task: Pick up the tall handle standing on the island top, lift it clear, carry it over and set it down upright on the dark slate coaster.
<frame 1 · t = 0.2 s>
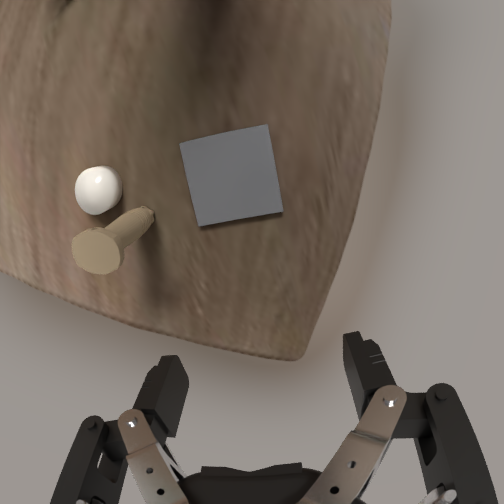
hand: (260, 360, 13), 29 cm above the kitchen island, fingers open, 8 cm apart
white dome knob: (104, 187, 39), on the kitchen island
handle: (146, 215, 41), on the kitchen island
coaster: (231, 175, 38), on the kitchen island
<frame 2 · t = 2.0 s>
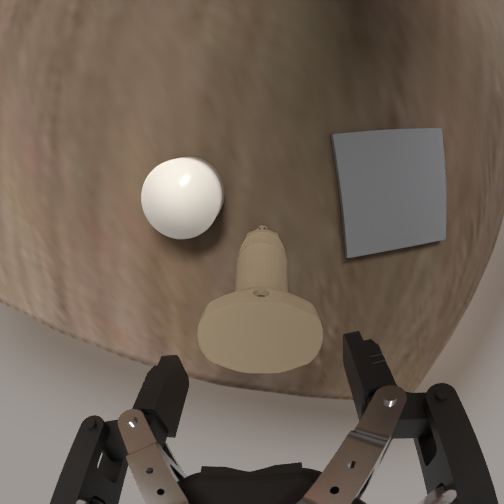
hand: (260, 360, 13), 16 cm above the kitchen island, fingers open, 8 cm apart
white dome knob: (188, 192, 27), on the kitchen island
handle: (262, 239, 28), on the kitchen island
coaster: (394, 189, 25), on the kitchen island
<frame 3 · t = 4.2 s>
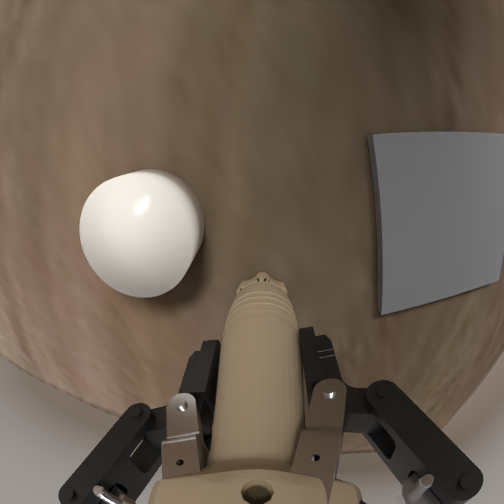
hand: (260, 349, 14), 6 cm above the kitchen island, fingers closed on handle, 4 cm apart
white dome knob: (152, 222, 18), on the kitchen island
handle: (262, 290, 19), on the kitchen island, touching gripper
coaster: (448, 217, 16), on the kitchen island
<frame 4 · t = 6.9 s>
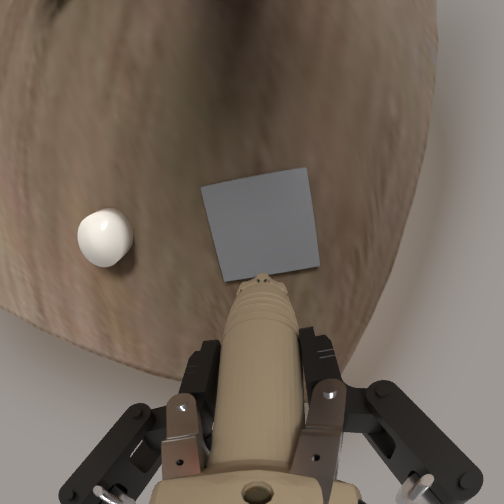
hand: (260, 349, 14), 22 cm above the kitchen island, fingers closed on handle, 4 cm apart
white dome knob: (111, 232, 35), on the kitchen island
handle: (262, 291, 19), point 16 cm above the kitchen island, touching gripper
coaster: (262, 225, 34), on the kitchen island
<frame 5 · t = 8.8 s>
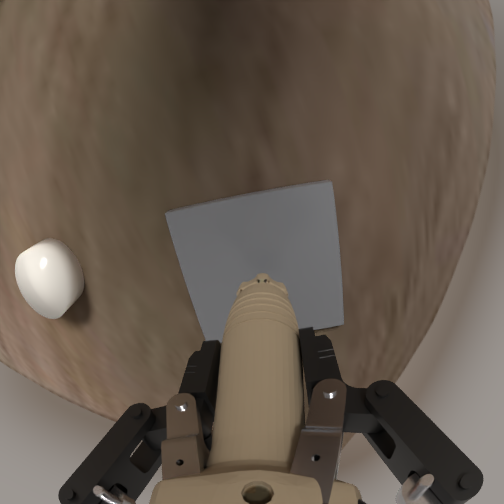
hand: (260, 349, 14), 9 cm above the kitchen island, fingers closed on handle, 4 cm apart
white dome knob: (58, 270, 24), on the kitchen island
handle: (262, 291, 19), point 3 cm above the kitchen island, touching gripper
coaster: (262, 268, 22), on the kitchen island
when the fingers open (8 cm above the kitchen island, at t = 10.1 s): handle stays where it is, resting on coaster.
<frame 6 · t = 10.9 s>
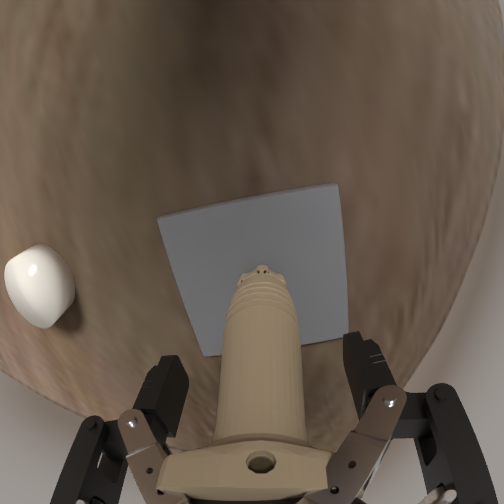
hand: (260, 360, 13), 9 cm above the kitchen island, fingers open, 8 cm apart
white dome knob: (49, 277, 22), on the kitchen island
handle: (262, 282, 20), point 1 cm above the kitchen island, touching coaster
coaster: (261, 278, 21), on the kitchen island
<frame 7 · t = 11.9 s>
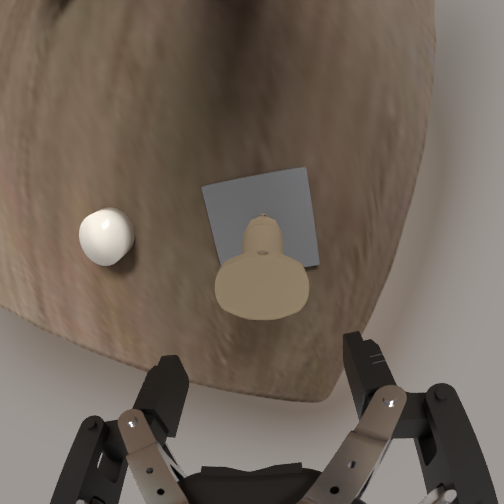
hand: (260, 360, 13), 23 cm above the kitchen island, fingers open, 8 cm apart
white dome knob: (112, 231, 35), on the kitchen island
handle: (263, 225, 33), point 1 cm above the kitchen island, touching coaster
coaster: (263, 224, 34), on the kitchen island
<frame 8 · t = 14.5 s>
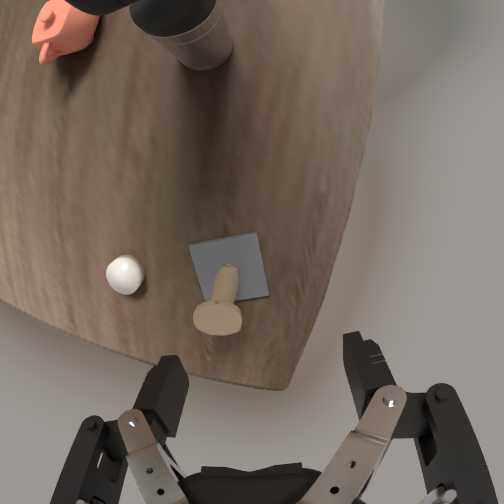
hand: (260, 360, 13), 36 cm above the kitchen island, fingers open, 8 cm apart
white dome knob: (129, 270, 52), on the kitchen island
handle: (229, 270, 50), point 1 cm above the kitchen island, touching coaster
coaster: (230, 269, 51), on the kitchen island
teapot: (82, 27, 34), on the kitchen island
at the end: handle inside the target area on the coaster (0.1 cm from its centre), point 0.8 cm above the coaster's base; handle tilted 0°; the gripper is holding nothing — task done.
